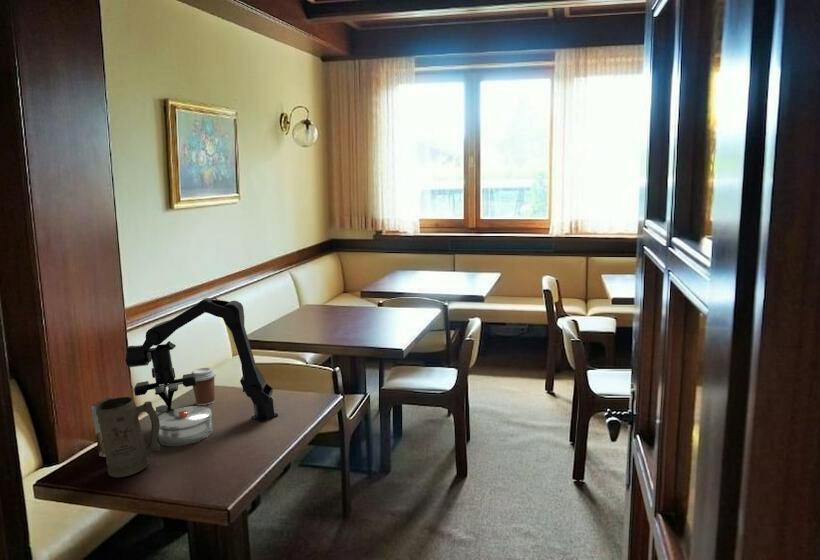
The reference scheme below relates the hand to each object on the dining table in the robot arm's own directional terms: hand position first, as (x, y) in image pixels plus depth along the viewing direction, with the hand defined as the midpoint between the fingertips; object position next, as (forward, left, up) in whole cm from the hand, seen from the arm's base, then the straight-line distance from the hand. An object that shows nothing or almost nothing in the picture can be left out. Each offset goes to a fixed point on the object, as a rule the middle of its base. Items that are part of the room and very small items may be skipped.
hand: (170, 409), depth 210 cm
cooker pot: (-9, +3, -5) cm, 11 cm away
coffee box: (-6, +22, -6) cm, 23 cm away
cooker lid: (-9, +2, 0) cm, 9 cm away
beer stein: (-20, +24, -6) cm, 32 cm away
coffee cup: (+9, -18, -6) cm, 21 cm away
